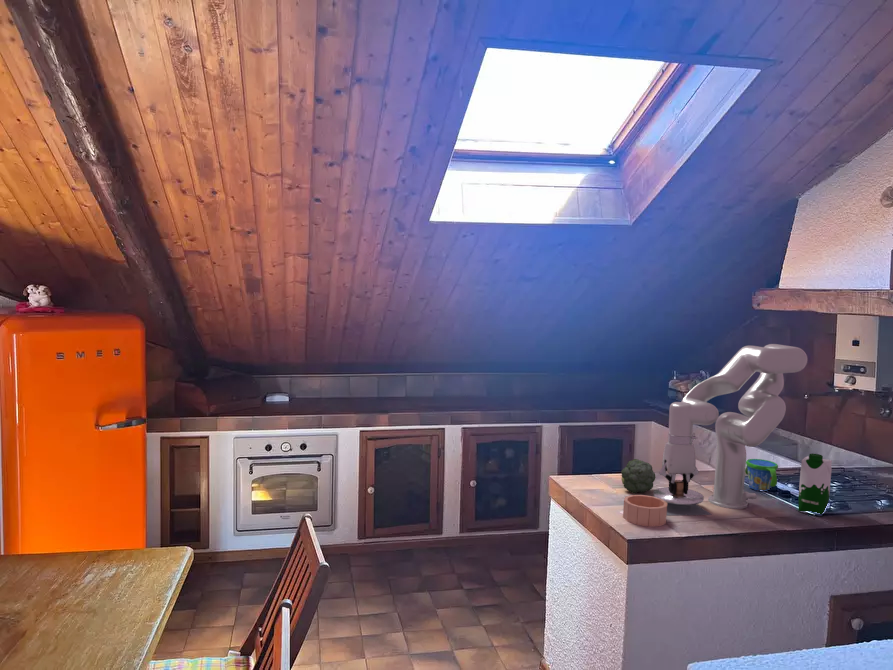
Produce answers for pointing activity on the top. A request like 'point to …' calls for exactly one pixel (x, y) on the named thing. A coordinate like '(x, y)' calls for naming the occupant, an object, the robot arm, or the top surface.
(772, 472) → the snack cup
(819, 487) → the milk carton
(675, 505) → the mat
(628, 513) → the bowl
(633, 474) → the vegetable
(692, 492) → the lid
